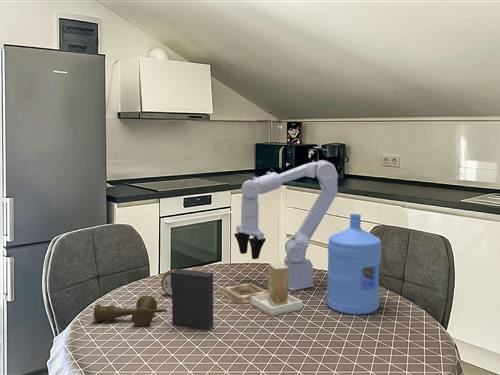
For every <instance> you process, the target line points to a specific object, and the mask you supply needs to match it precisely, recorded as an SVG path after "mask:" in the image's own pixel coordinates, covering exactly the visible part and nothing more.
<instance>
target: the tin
mask: <svg viewBox="0 0 500 375" xmlns="http://www.w3.org/2000/svg"><path fill="white" fill-rule="evenodd" d="M177 269H178V268H177ZM177 269H170V270H168V271H166V272H165V273H164V275H163V276H162V278H161V284H160V285H161V287H162V290H163V291H164V293H165V294H166V295H168V296H170V297H172V287H171V273H172V272H173V271H175V270H177ZM189 270H190V271H197V270H194V269H193V270H192V269H189ZM198 271H199V272H202V271H200V270H198Z"/></svg>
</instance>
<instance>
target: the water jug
mask: <svg viewBox="0 0 500 375" xmlns="http://www.w3.org/2000/svg"><path fill="white" fill-rule="evenodd" d="M349 216H350V218H349V219H350V220H349V227H348V229H347V228H346V229H344V230H341V231H340V232H337V233H333V234H332V235H330V236H329V237H328V243H327V251H328V253H327V255H328V256H327V258H328V259H327V274H326V276H327V285H326V286H327V289H326V290H327V292H326V304H327V306H328V307H329V308H330V309H332V310H334V311H336V312H338V313H341V314H348V315H368V314H372V313H374V312H376V311H377V310H378V309H379V308H380V283H379V272H380V271H379V270H380V267H379V266H380V264H381V255H382V240H381V239H380V238H379V237H378V236H376V235H373V234H372V233H370V232H368V231H366V230H364V229H362V227H361V222H362V221H361V216H362V215H361V214H359V213H350V214H349ZM364 268H372V274H371V276H372V277H371V278H370V277H369V278H368V277H366V276H365V275H364Z"/></svg>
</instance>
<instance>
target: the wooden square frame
mask: <svg viewBox="0 0 500 375" xmlns="http://www.w3.org/2000/svg"><path fill="white" fill-rule="evenodd" d="M249 291H250V292H251V293H248V294H245V295H244V294H243V295H240V294H239V293H245V292H249ZM267 293H268V290H266V289H264V288H262V287H260V286H258V285H257V284H254V283H252V282H248V283H243V284H237V285H231V286H226V287H222V288H221V295H222V296H225V297H226V298H228V299H230V300H231V301H233V302H235V303H236V304H238V305H243V304H247V303H248V304H249V303H251V297H252V296H257V295H262V294H267Z"/></svg>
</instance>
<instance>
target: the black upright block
mask: <svg viewBox="0 0 500 375" xmlns="http://www.w3.org/2000/svg"><path fill="white" fill-rule="evenodd" d="M190 270H191V269H179V268H177V270H175V271H173V272H172V273H171V287H172V296H171V313H172V314H171V319H172V321H171V323H172V325H173V326H176V327H177V326H178V327H183V328H184V327H185V328H189V329H196V330H204V331H209V330H211V328H212V327H214V274H213V273H212V272H207V271H201V272H199V271H200V270H196V271H190Z"/></svg>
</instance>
